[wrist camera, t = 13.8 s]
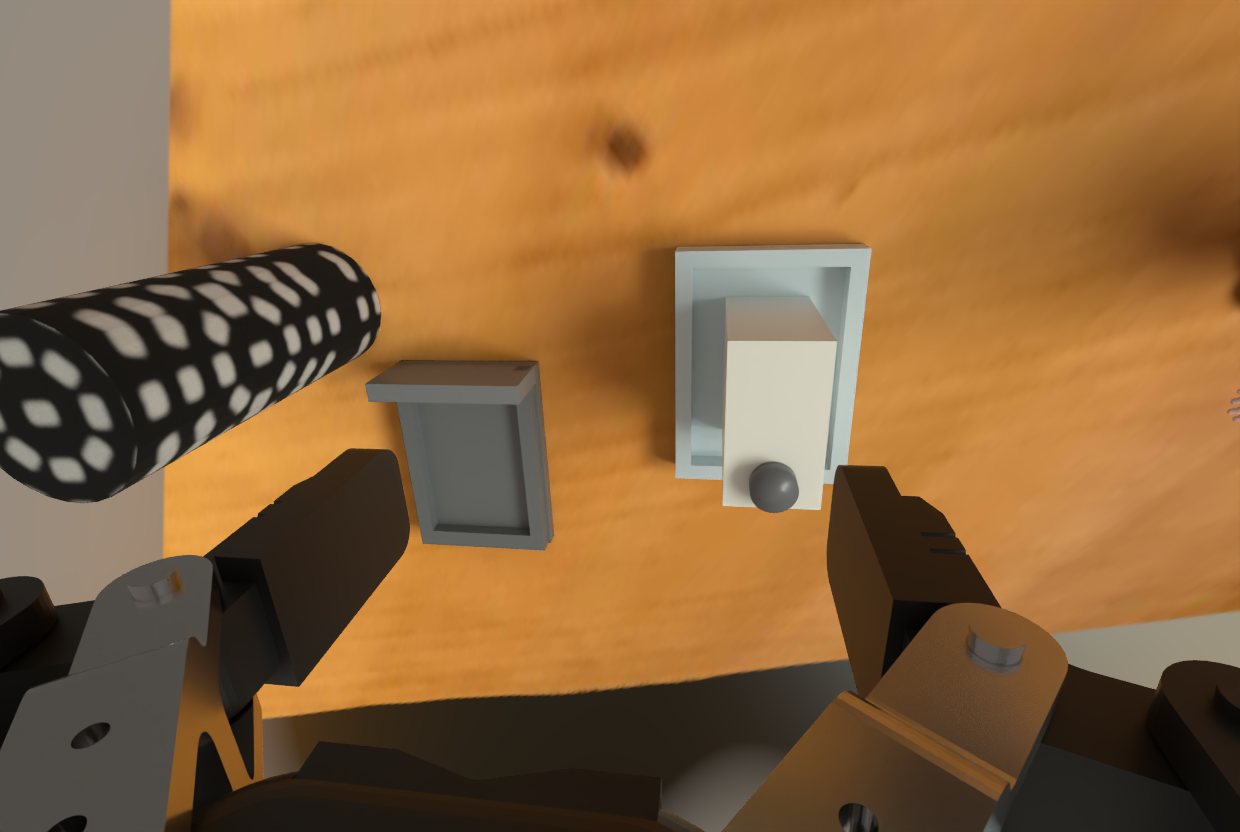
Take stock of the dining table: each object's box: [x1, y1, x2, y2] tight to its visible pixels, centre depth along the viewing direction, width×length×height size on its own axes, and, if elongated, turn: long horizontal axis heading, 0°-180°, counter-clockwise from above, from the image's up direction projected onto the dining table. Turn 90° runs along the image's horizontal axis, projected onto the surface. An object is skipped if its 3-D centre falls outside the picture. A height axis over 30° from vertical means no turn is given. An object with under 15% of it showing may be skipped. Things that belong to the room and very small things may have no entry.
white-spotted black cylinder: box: [0, 243, 381, 503], centre depth 35 cm, size 8×8×20 cm
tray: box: [675, 243, 872, 484], centre depth 40 cm, size 15×11×2 cm
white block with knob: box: [722, 296, 837, 513], centre depth 35 cm, size 9×5×11 cm, turn 2°
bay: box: [365, 360, 554, 550], centre depth 44 cm, size 14×10×5 cm
